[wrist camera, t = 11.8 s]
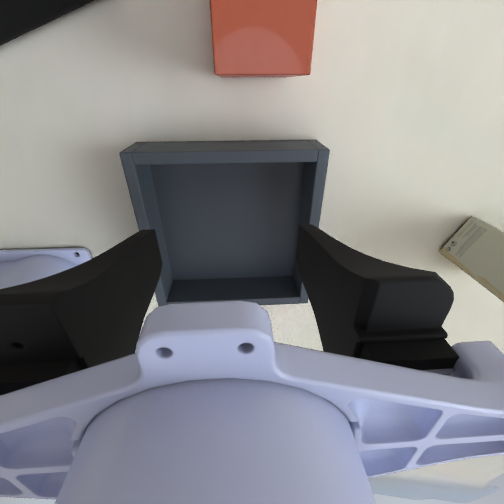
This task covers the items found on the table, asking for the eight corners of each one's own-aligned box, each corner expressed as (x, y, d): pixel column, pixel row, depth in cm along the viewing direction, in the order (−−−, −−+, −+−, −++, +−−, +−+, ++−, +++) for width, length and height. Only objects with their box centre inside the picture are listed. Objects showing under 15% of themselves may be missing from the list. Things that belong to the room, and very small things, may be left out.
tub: (167, 284, 27) (159, 309, 24) (135, 142, 20) (118, 152, 17) (300, 280, 28) (307, 303, 25) (316, 139, 21) (330, 149, 18)
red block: (221, 77, 18) (214, 74, 12) (216, -13, 16) (205, -69, 10) (286, 77, 18) (310, 74, 12) (290, -12, 16) (323, -66, 10)
